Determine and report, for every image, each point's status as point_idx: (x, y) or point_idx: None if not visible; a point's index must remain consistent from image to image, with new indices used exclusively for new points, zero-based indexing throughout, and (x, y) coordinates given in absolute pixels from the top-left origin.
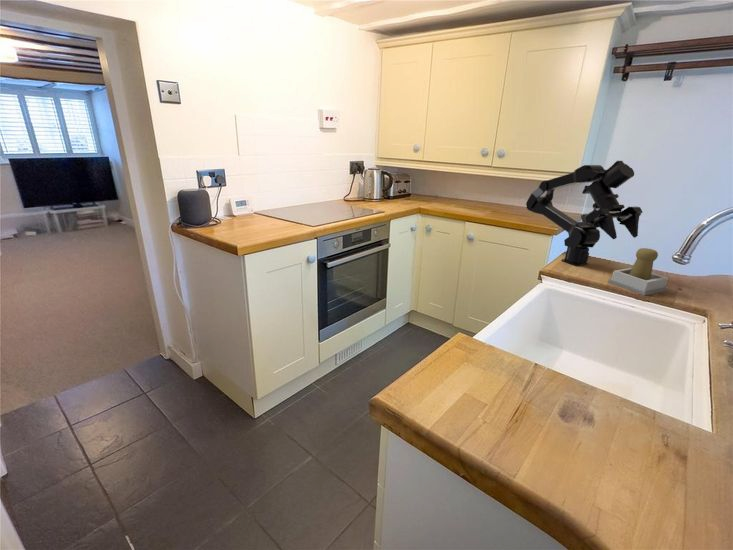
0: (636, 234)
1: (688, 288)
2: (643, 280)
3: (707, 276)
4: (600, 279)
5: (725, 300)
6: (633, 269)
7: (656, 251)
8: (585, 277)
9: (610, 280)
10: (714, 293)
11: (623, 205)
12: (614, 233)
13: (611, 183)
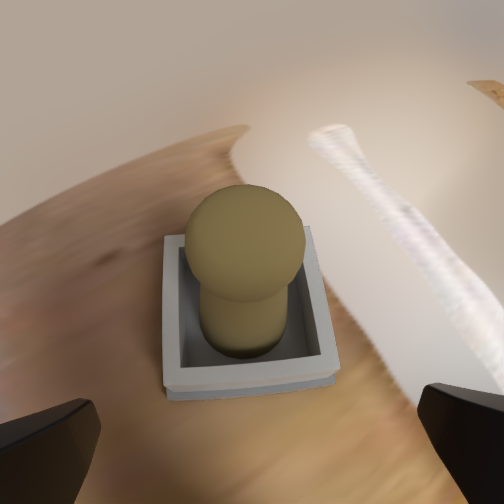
0: (83, 406)
1: (73, 255)
2: (311, 240)
3: None
4: (336, 419)
5: (92, 178)
6: (284, 305)
7: (212, 195)
8: (384, 447)
9: (333, 374)
10: (56, 212)
11: None
12: (474, 390)
13: None
